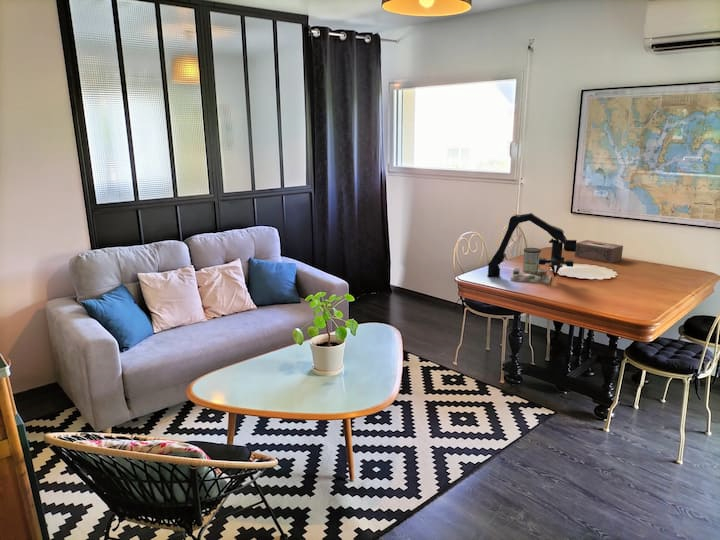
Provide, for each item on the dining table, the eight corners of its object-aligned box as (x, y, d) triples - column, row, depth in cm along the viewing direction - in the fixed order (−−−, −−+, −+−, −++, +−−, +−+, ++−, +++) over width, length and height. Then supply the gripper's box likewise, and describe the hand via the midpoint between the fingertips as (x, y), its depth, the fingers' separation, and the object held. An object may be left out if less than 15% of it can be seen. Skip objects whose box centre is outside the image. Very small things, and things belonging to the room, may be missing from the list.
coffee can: (520, 269, 332) (522, 247, 328) (537, 269, 331) (538, 247, 327) (524, 273, 322) (525, 251, 318) (541, 273, 321) (542, 251, 317)
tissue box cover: (574, 256, 361) (575, 242, 359) (585, 253, 370) (586, 240, 367) (610, 263, 342) (612, 248, 339) (621, 259, 350) (623, 245, 348)
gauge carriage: (531, 279, 302) (531, 272, 301) (532, 274, 311) (532, 268, 310) (545, 280, 299) (546, 273, 298) (546, 275, 308) (546, 269, 307)
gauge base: (510, 280, 307) (511, 272, 306) (512, 275, 318) (513, 267, 317) (549, 283, 299) (550, 274, 298) (550, 277, 310) (551, 269, 309)
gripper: (539, 252, 294) (537, 278, 298) (574, 254, 288) (572, 281, 292) (540, 248, 304) (538, 273, 308) (574, 250, 298) (571, 276, 302)
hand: (554, 276), depth 302 cm, fingers closed
